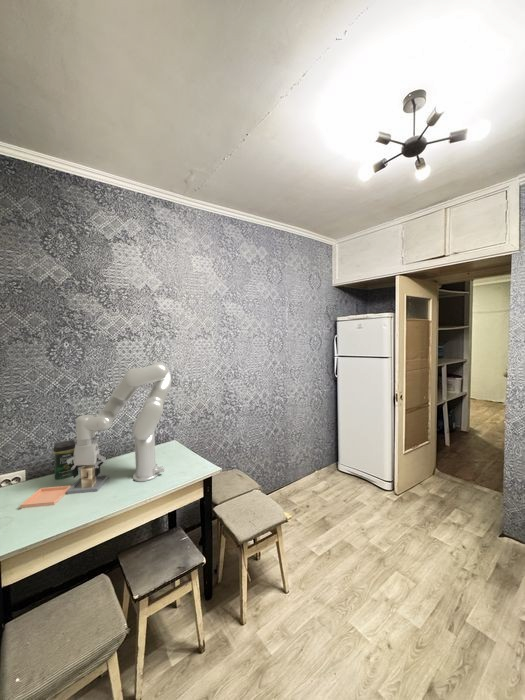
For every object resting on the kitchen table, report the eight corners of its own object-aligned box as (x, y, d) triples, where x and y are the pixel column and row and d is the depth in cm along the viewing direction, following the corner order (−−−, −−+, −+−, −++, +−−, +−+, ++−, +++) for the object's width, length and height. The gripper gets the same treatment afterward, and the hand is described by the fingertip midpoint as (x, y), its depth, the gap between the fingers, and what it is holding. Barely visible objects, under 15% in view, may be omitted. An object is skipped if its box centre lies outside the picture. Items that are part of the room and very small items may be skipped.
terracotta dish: (71, 489, 132) (70, 485, 132) (54, 506, 119) (54, 501, 119) (40, 492, 130) (40, 488, 130) (20, 509, 117) (20, 505, 117)
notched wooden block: (96, 482, 137) (95, 464, 136) (91, 487, 132) (90, 469, 132) (86, 483, 136) (85, 465, 136) (81, 488, 132) (80, 470, 131)
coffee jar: (54, 482, 139) (52, 446, 138) (55, 476, 145) (53, 441, 144) (77, 476, 144) (75, 441, 143) (77, 470, 151) (75, 437, 150)
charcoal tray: (109, 478, 142) (109, 474, 142) (97, 492, 129) (97, 488, 129) (81, 480, 140) (81, 476, 140) (66, 495, 127) (66, 491, 127)
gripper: (108, 437, 138) (108, 471, 139) (70, 439, 136) (71, 473, 136) (101, 443, 130) (102, 478, 131) (62, 444, 128) (62, 480, 129)
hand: (86, 475), depth 134 cm, fingers open, 9 cm apart
